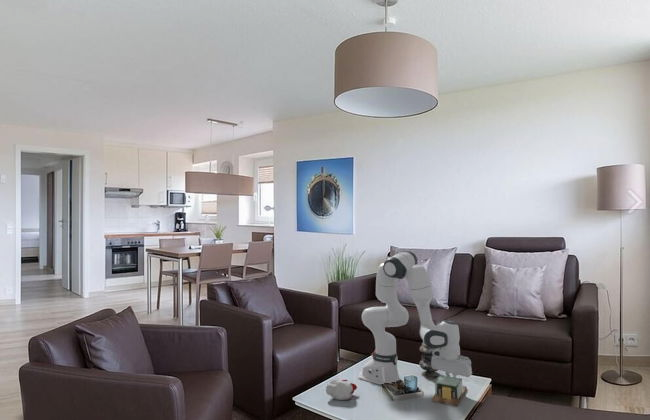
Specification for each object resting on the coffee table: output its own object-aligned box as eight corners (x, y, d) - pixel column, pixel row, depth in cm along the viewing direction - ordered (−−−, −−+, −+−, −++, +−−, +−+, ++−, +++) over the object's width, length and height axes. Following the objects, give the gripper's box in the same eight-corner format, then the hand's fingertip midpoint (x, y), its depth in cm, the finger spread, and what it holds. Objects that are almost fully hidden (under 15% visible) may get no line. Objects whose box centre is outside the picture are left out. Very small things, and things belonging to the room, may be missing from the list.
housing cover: (435, 394, 203) (435, 381, 203) (439, 387, 211) (439, 375, 211) (458, 398, 198) (458, 385, 198) (462, 391, 206) (462, 378, 206)
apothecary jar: (428, 380, 225) (427, 346, 225) (415, 373, 236) (414, 340, 236) (446, 376, 229) (446, 343, 229) (433, 369, 240) (432, 338, 241)
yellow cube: (442, 398, 199) (442, 388, 200) (442, 394, 203) (442, 385, 203) (451, 399, 198) (451, 389, 198) (451, 395, 202) (451, 386, 202)
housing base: (431, 401, 199) (431, 392, 199) (442, 384, 218) (442, 376, 219) (457, 406, 193) (457, 397, 193) (466, 388, 213) (466, 380, 213)
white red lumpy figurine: (324, 398, 203) (345, 393, 214) (341, 405, 195) (362, 399, 206) (325, 379, 204) (346, 374, 215) (342, 385, 196) (363, 380, 207)
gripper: (473, 356, 205) (474, 384, 205) (435, 348, 219) (436, 374, 219) (468, 359, 201) (468, 388, 200) (429, 351, 215) (430, 378, 214)
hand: (451, 381), depth 210 cm, fingers closed
